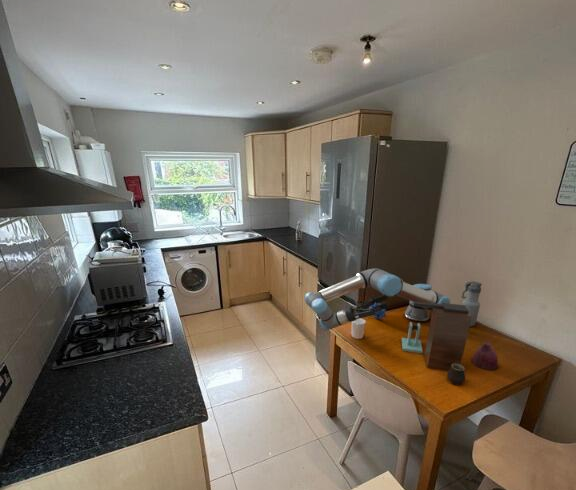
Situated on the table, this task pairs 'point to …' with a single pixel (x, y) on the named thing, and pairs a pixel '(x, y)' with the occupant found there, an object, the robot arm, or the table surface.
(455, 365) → the mate gourd
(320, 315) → the robot arm
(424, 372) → the table surface
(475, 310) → the water bottle
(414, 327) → the black knobbed rod
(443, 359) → the shelf block
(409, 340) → the mounting bracket
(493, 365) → the purple beanie hat
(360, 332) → the white cup
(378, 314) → the grapes
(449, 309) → the spatula
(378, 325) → the table surface
